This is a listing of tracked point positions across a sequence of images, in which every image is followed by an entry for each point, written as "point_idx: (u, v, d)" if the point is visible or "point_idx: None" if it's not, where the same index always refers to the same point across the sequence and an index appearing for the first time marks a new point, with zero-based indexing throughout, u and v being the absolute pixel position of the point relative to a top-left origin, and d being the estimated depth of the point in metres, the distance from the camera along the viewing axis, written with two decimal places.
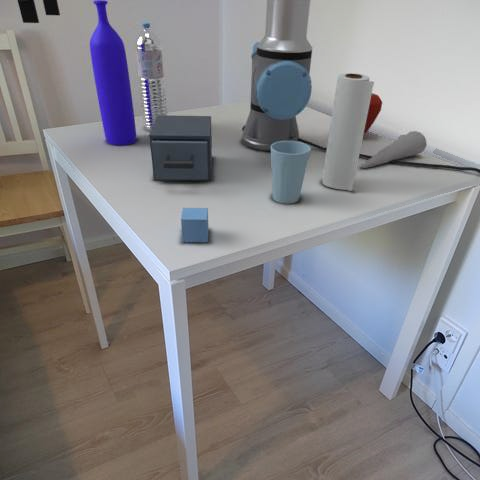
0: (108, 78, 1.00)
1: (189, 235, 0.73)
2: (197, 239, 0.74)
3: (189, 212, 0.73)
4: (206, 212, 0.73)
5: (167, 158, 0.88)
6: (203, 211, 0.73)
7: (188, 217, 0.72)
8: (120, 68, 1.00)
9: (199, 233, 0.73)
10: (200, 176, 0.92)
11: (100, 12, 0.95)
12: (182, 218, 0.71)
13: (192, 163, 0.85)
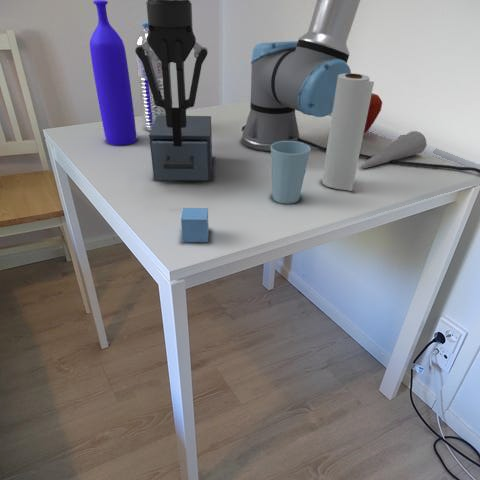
0: (108, 78, 1.00)
1: (189, 235, 0.73)
2: (197, 239, 0.74)
3: (189, 212, 0.73)
4: (206, 212, 0.73)
5: (167, 159, 0.87)
6: (203, 211, 0.73)
7: (188, 217, 0.72)
8: (120, 68, 1.00)
9: (199, 233, 0.73)
10: (200, 177, 0.92)
11: (100, 12, 0.95)
12: (182, 218, 0.71)
13: (192, 164, 0.85)
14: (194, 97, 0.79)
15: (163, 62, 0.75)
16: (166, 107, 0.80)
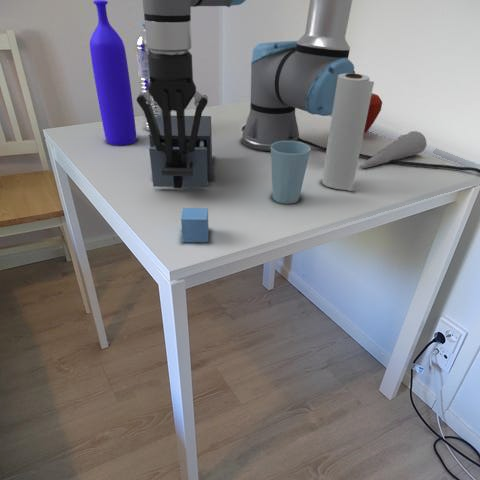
0: (108, 78, 1.00)
1: (189, 235, 0.73)
2: (197, 239, 0.74)
3: (189, 212, 0.73)
4: (206, 212, 0.73)
5: (165, 165, 0.85)
6: (203, 211, 0.73)
7: (188, 217, 0.72)
8: (120, 68, 1.00)
9: (199, 233, 0.73)
10: (199, 183, 0.89)
11: (100, 12, 0.95)
12: (182, 218, 0.71)
13: (191, 170, 0.83)
14: (194, 142, 0.81)
15: (164, 110, 0.76)
16: (167, 152, 0.82)
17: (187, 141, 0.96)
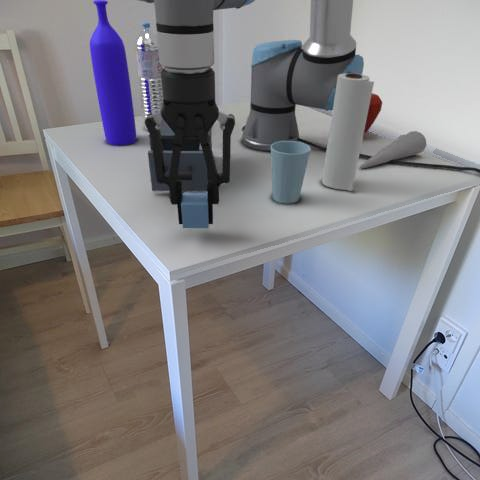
0: (108, 78, 1.00)
1: (189, 221, 0.72)
2: (198, 225, 0.72)
3: (190, 198, 0.71)
4: (206, 197, 0.72)
5: None
6: (203, 196, 0.72)
7: (189, 202, 0.70)
8: (120, 68, 1.00)
9: (200, 219, 0.71)
10: (199, 187, 0.88)
11: (100, 12, 0.95)
12: (182, 203, 0.70)
13: (190, 174, 0.81)
14: (228, 172, 0.67)
15: (180, 139, 0.63)
16: (170, 184, 0.68)
17: (186, 144, 0.94)
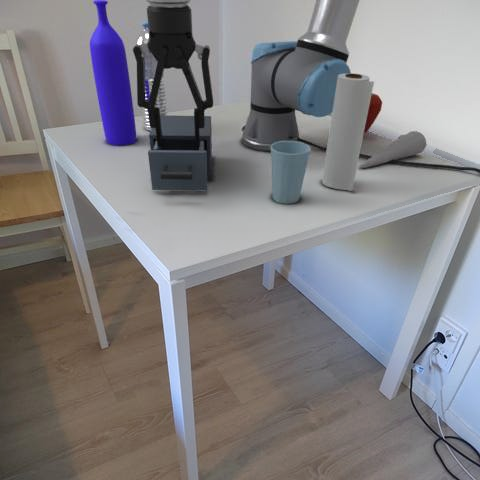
0: (108, 78, 1.00)
1: None
2: None
3: None
4: None
5: (164, 168, 0.83)
6: None
7: None
8: (120, 68, 1.00)
9: None
10: (199, 187, 0.88)
11: (100, 12, 0.95)
12: None
13: (191, 174, 0.81)
14: (211, 97, 0.80)
15: (164, 68, 0.76)
16: (149, 107, 0.81)
17: (187, 144, 0.94)
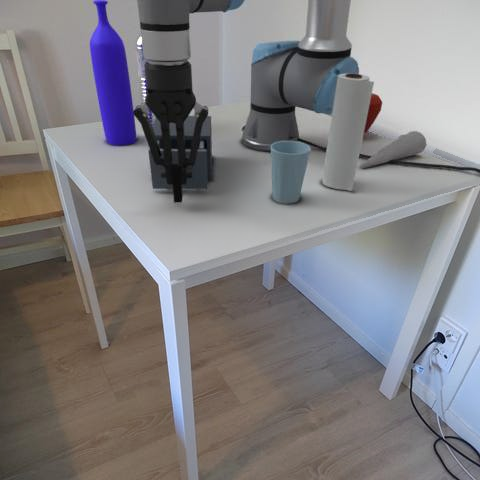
0: (108, 78, 1.00)
1: None
2: None
3: None
4: None
5: None
6: None
7: None
8: (120, 68, 1.00)
9: None
10: (199, 185, 0.88)
11: (100, 12, 0.95)
12: None
13: (191, 172, 0.82)
14: (195, 155, 0.77)
15: (162, 123, 0.73)
16: (166, 166, 0.78)
17: (187, 143, 0.95)
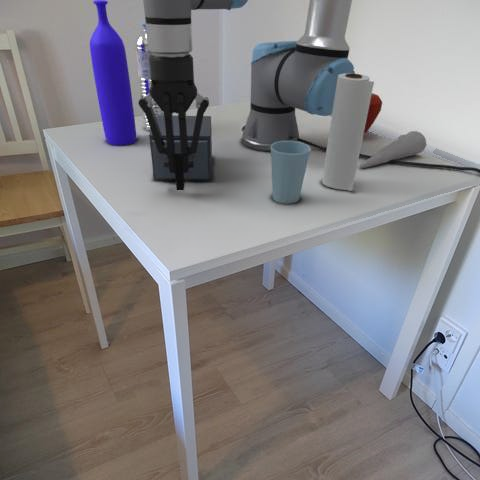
0: (108, 78, 1.00)
1: None
2: None
3: None
4: None
5: (167, 157, 0.88)
6: None
7: None
8: (120, 68, 1.00)
9: None
10: (200, 175, 0.92)
11: (100, 12, 0.95)
12: None
13: (192, 162, 0.86)
14: (196, 144, 0.81)
15: (166, 113, 0.77)
16: (169, 154, 0.82)
17: None
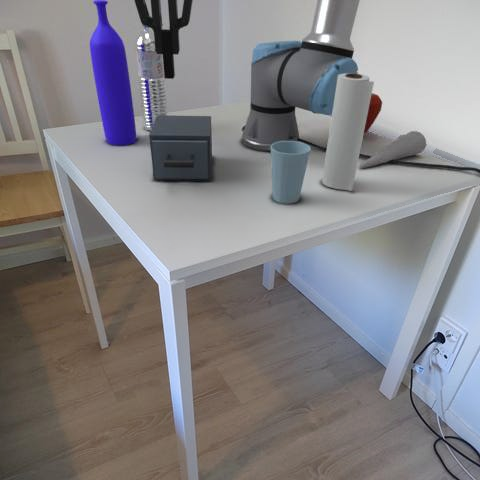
0: (108, 78, 1.00)
1: None
2: None
3: None
4: None
5: (167, 157, 0.88)
6: None
7: None
8: (120, 68, 1.00)
9: None
10: (200, 175, 0.92)
11: (100, 12, 0.95)
12: None
13: (192, 162, 0.86)
14: (188, 13, 0.65)
15: None
16: (155, 26, 0.66)
17: None
